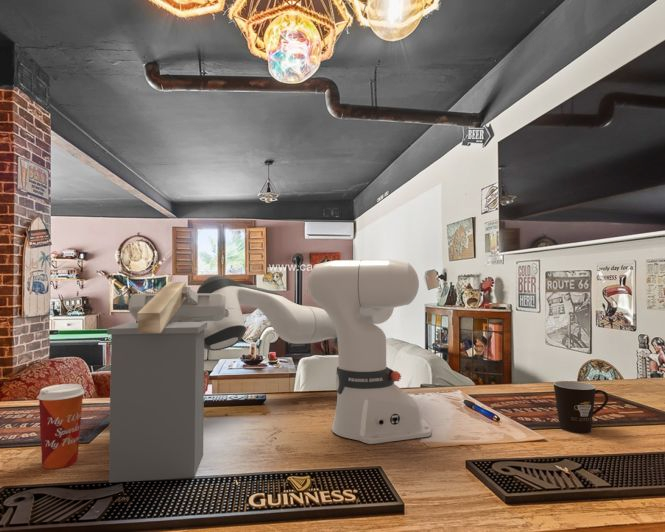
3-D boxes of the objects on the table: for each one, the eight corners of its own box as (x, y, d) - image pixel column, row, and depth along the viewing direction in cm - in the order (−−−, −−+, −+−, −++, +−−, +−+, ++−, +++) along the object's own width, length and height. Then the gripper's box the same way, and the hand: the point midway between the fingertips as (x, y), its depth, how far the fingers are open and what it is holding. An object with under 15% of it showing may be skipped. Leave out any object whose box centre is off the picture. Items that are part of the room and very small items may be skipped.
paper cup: (48, 475, 77) (50, 394, 78) (27, 465, 81) (29, 389, 82) (92, 460, 84) (93, 385, 84) (71, 451, 88) (72, 381, 88)
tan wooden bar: (186, 297, 96) (185, 281, 95) (160, 333, 73) (159, 312, 73) (169, 297, 95) (169, 281, 95) (138, 333, 73) (137, 313, 72)
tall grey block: (206, 453, 87) (207, 321, 88) (196, 478, 76) (198, 327, 77) (126, 458, 85) (128, 322, 86) (104, 484, 74) (107, 328, 75)
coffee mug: (555, 432, 99) (555, 387, 99) (552, 421, 107) (551, 379, 107) (616, 439, 95) (615, 392, 95) (608, 427, 103) (607, 383, 103)
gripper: (228, 330, 102) (223, 302, 91) (136, 331, 100) (119, 303, 88) (230, 305, 106) (225, 276, 94) (141, 306, 103) (124, 276, 91)
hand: (173, 289), depth 91 cm, fingers closed on tan wooden bar, 3 cm apart
